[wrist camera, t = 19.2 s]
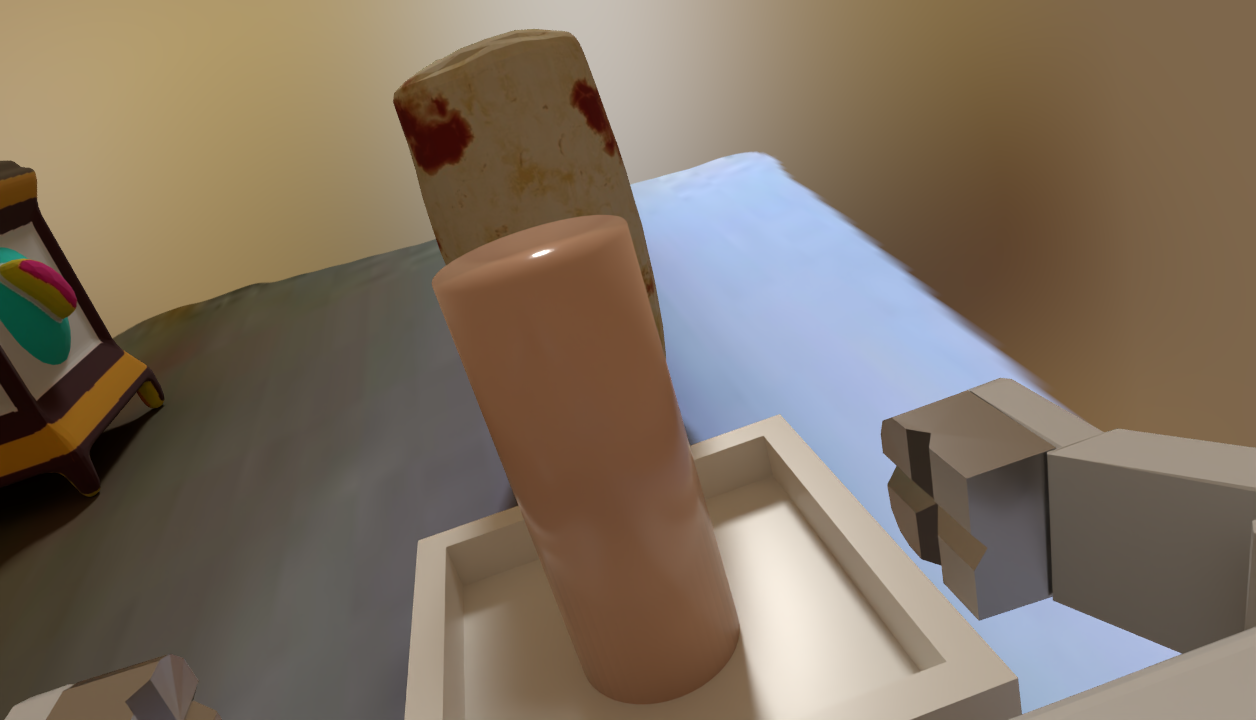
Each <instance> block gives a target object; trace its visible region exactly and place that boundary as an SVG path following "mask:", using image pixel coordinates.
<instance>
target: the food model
mask: <svg viewBox="0 0 1256 720" xmlns="http://www.w3.org/2000/svg"><path fill="white" fill-rule="evenodd" d="M393 103H394V106H395V109H396V112H397V114H398V118H399V120H400V123H401V126H402V129H403V131H404V134H405V137H406V140H407V143H408V146H409V149H410V152H411V156H412V159H413V163H414V166H415V169H416V173H417V177H418V181H419V185H420V189H421V193H422V196H423V200H424V203H425V206H426V209H427V213H428V216H429V219H430V222H431V225H432V228H433V231H434V234H435V237H436V240H437V243H438V246H439V249H440V252H441V254H442V257H443V259H444V261H445V264H446V265H448V264H449V263H451V262H452V261H454V260H456V259H457V258H459V257H461V256H462V255H464V254H466V253H468V252H470V251H472V250H474V249H476V248H478V247H481V246H483V245H485V244H487V243H490V242H492V241H495V240H497V239H500V238H502V237H505V236H508V235H510V234H513V233H516V232H519V231H522V230H526V229H529V228H532V227H536V226H539V225H543V224H547V223H551V222H555V221H559V220H564V219H569V218H575V217H582V216H590V215H614V216H619V217H622V218H623V219H625V220H626V222H627V224H628V228H629V231H630V235H631V238H632V242H633V245H634V249H635V253H636V256H637V260H638V263H639V267H640V270H641V274H642V277H643V281H644V284H645V288H646V292H647V295H648V299H649V302H650V306H651V309H652V313H653V316H654V320H655V324H656V327H657V331H658V334H659V338H660V341H661V345H662V348H663V352H664V355H665V359H666V351H665V341H664V331H663V324H662V318H661V313H660V307H659V301H658V296H657V291H656V285H655V280H654V275H653V271H652V266H651V262H650V258H649V254H648V249H647V245H646V240H645V236H644V231H643V227H642V223H641V220H640V217H639V213H638V210H637V207H636V204H635V200H634V197H633V194H632V190H631V187H630V183H629V180H628V176H627V173H626V169H625V167H624V164H623V161H622V158H621V154H620V151H619V148H618V145H617V142H616V140H615V137H614V134H613V131H612V129H611V126H610V123H609V120H608V118H607V115H606V112H605V109H604V107H603V104H602V101H601V98H600V95H599V93H598V90H597V87H596V84H595V82H594V79H593V76H592V73H591V71H590V68H589V65H588V63H587V60H586V57H585V55H584V52H583V50H582V48H581V46H580V44H579V42H578V40H577V39H576V38H575V37H574V36H573V35H572V34H571V33H569V32H565V31H551V30H539V29H527V30H514V31H511V32H507V33H504V34H501V35H497V36H494V37H491V38H488V39H485V40H482V41H480V42H477V43H474V44H471V45H469V46H466V47H463V48H461V49H459V50H457V51H455V52H453V53H452V54H450V55H448V56H446V57H444V58H443V59H439V60H436V61H434V62H433V63H432V64H430V65H428V66H426V67H425V68H423V69H422V70H421V71H419V72H418V73H416V74H415V75H414V76H412V77H411V78H409V79H408V80H407V81H405V82H404V83H403V85H402V86H400V88H398V90H397V91H396V92H395V93H394V100H393Z"/></svg>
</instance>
